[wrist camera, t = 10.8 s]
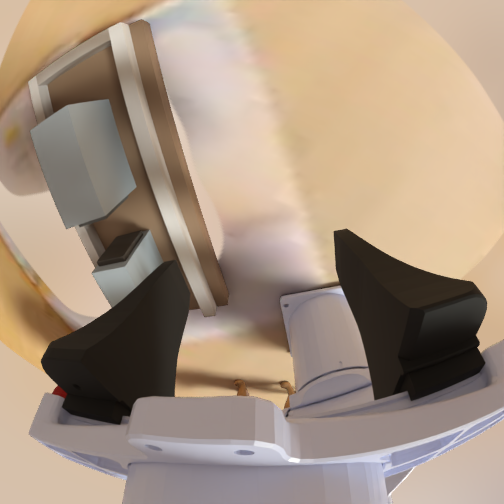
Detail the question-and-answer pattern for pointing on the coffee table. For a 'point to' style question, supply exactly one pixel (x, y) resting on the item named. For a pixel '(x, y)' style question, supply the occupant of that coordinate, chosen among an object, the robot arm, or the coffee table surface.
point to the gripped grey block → (83, 162)
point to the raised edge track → (136, 167)
